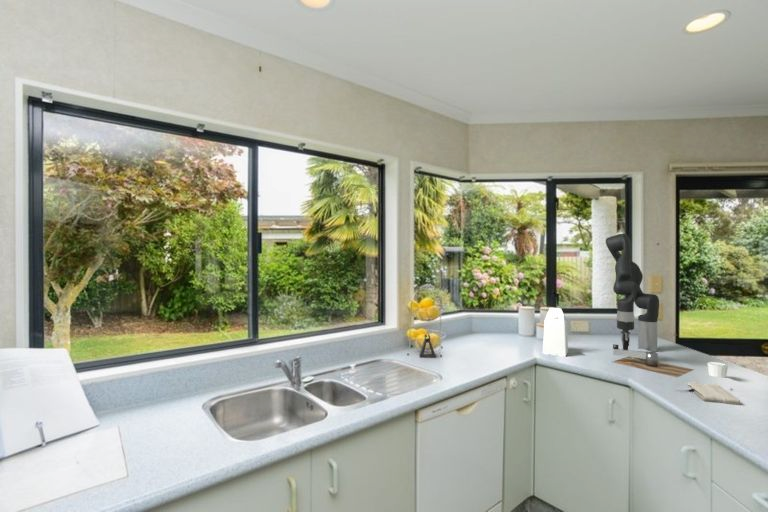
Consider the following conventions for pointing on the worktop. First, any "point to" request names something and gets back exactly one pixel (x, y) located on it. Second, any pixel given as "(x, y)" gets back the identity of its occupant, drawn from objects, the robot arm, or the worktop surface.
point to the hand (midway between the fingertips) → (625, 352)
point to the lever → (637, 355)
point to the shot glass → (717, 369)
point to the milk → (555, 333)
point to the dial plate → (661, 367)
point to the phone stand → (424, 349)
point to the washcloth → (713, 393)
